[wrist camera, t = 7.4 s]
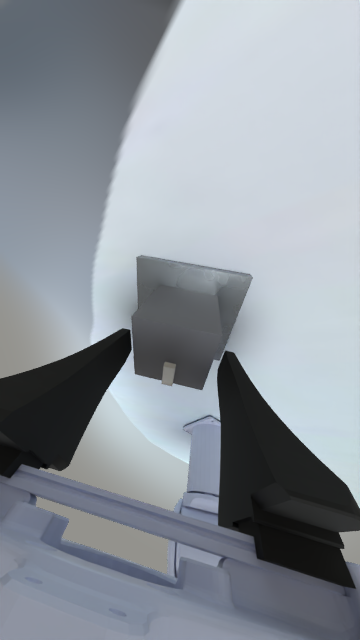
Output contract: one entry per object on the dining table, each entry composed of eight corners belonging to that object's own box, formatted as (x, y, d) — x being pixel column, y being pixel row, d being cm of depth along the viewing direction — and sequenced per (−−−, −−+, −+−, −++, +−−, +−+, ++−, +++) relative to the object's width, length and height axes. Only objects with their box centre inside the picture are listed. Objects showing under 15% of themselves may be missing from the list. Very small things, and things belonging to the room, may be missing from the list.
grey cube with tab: (217, 295, 13) (222, 340, 8) (204, 340, 16) (201, 395, 11) (160, 284, 14) (128, 320, 8) (157, 330, 17) (132, 378, 11)
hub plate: (250, 274, 13) (266, 293, 9) (218, 354, 18) (221, 387, 14) (141, 255, 14) (114, 265, 10) (142, 337, 19) (125, 364, 15)
